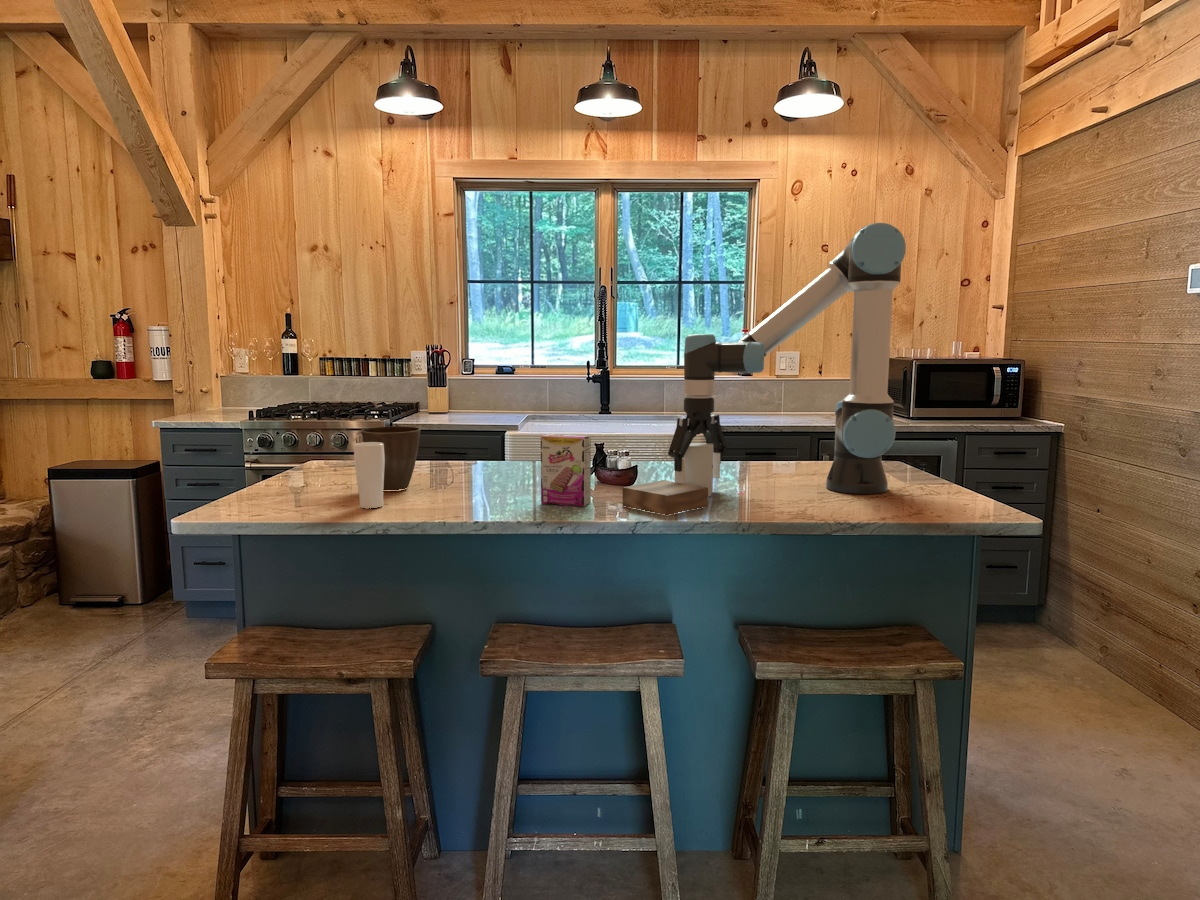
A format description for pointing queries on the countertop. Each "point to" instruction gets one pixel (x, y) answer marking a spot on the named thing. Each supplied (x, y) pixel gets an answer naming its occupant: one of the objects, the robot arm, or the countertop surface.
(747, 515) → the countertop surface
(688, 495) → the walnut base block
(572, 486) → the candy bar box
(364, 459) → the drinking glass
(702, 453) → the supplement box
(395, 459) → the plant pot
